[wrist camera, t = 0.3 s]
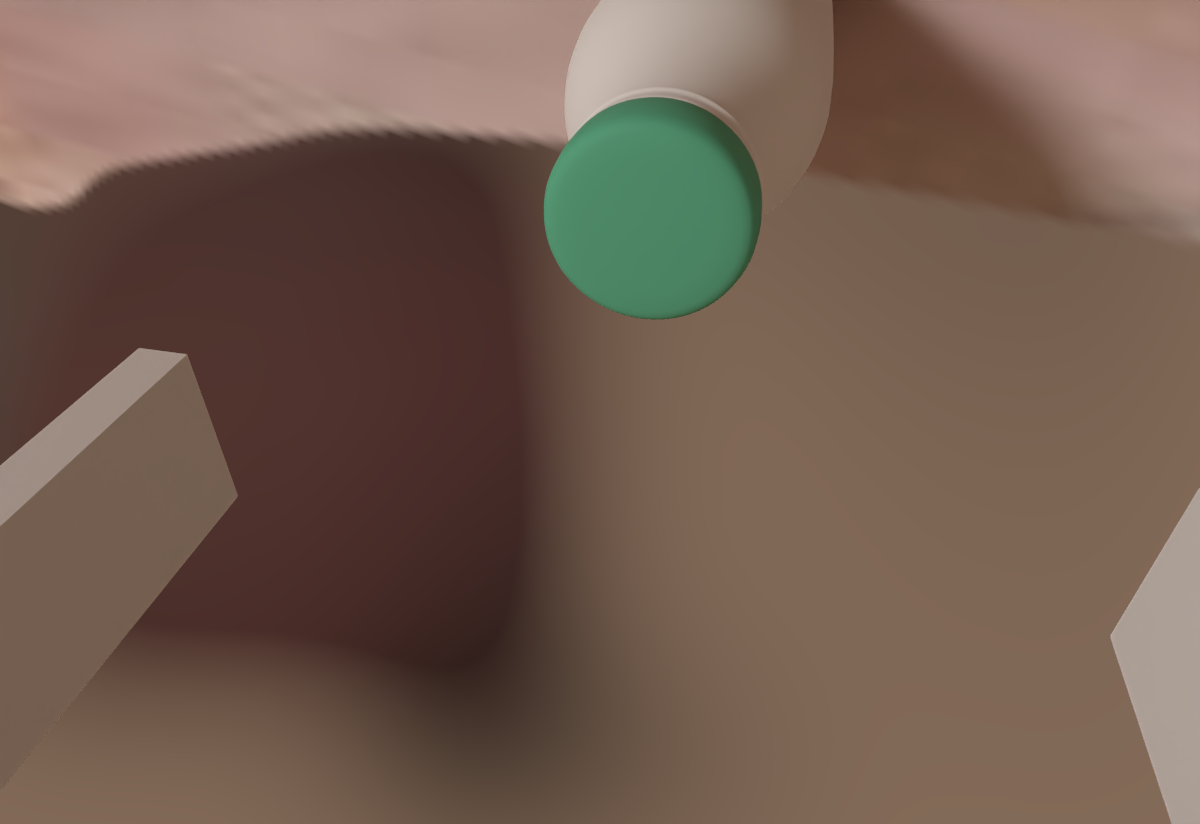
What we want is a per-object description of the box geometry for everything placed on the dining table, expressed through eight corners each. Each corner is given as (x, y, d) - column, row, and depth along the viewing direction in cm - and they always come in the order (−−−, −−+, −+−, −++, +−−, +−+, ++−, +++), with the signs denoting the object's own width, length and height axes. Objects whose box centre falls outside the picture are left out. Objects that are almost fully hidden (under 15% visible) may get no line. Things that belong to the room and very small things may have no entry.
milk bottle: (870, -57, 30) (917, 124, 15) (779, 139, 35) (744, 429, 20) (672, -136, 30) (512, -36, 15) (609, 72, 35) (438, 312, 20)
